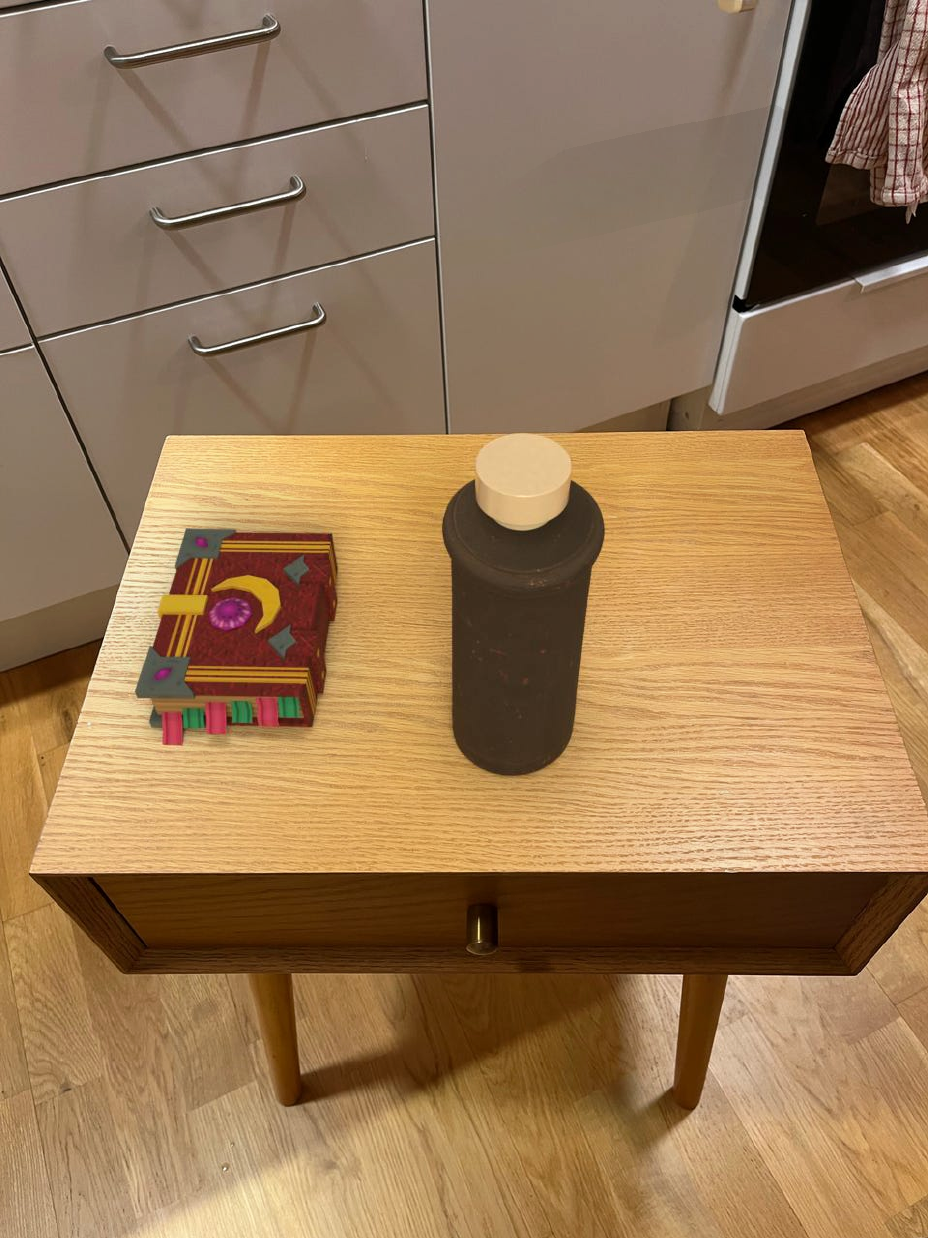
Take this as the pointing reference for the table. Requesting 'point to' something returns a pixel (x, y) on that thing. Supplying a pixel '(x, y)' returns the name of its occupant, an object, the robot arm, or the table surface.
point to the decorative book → (241, 632)
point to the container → (518, 629)
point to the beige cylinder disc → (522, 480)
